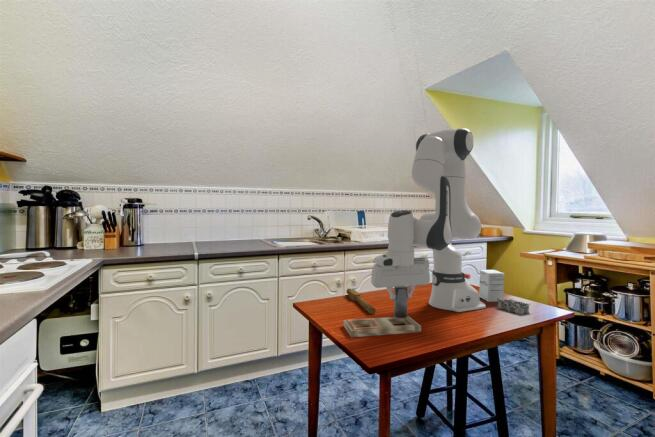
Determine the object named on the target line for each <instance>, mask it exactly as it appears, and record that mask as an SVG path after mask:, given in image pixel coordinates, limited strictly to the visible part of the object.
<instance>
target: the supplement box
mask: <svg viewBox="0 0 655 437" xmlns="http://www.w3.org/2000/svg"><path fill="white" fill-rule="evenodd" d="M504 288H505V272H501V271H499V270H496V269H480V270H479V290H478V293H479V298H481V299H482V300H484V301H485V302H488V303H489V302H491V303H492V302H493V303H498V302H499V301H498V300H497V299H500V300H504V292H505V290H504Z"/></svg>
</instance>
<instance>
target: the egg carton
mask: <svg viewBox="0 0 655 437" xmlns="http://www.w3.org/2000/svg"><path fill="white" fill-rule="evenodd" d="M497 300H498V301H499V302H497V307H498V308H499V309H500V310H506V311H507V312H514V313H515V314H516V315H524V313H525V314H528V313H529V311H530V306H531V303H525V302H523V301H518V300H515V299H513V298H507V299H503V300H500V299H497Z"/></svg>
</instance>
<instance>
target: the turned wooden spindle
mask: <svg viewBox="0 0 655 437" xmlns="http://www.w3.org/2000/svg"><path fill="white" fill-rule="evenodd" d="M346 294H347V296H348V298H349V299H351V300H352V301H353V302H356V303H358V304H359V305H360V306H361V307H362V308H363V309H364V310H365V311H366V312H367V313H368V314H369V315H375V314H376V312H377V310H376V308H375V307H374V306H373V305H372V304H370V303H369V302H368V301H366V300H364V299H363V298H362V297H361V293H359V292H358V291H357V290H356V289H353V288H350V287H349V288H347V289H346Z"/></svg>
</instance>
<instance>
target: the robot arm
mask: <svg viewBox="0 0 655 437" xmlns="http://www.w3.org/2000/svg"><path fill="white" fill-rule="evenodd" d="M473 148H474V136H473V134H472V131H470V130H469V129H468V128H457V129H456V128H455V129H454V128H453V129H452V128H451V129H443V130H440V131H435V132H431V133H425V134H422V135H420V136H419V137H418V139H417V140H416V144H415V150H416V152H415V156H414V159H413V163H412V168H411V178H412V180H413V182H414V183H415V184H416V185H417V186H418V187H419V188H421V189H423V190H425V191H427V192H430V193H433V195H434V197H435V210H434V211H429V212H425V213H423V214H422V215H421V216H420V218H419V219H418V218H416V217H414V215H413V211H411V210H406V209H405V210H403V209H402V210H397V211H394V212H393V211H392V212H391V214H390V215H389V218H388V225H387V240H388V246H387V252H385V253H383V254H380V255H378V256H375V257H374V258H373V263H375V264H374V265H373V266H372V269H371V276H370V278H371V279H370V280H371V285H372V286H373V287H374V288H376V289H378V288H379V289H380V288H386V290H387V292H388V293H389V299H390V300H393V301H394V299H396V294H394V292H393V290H394V287H397V286H406V287H409V289H407V299H412V297H413V296H412V295H413V292H414V291H415V289H416V286H425V285H429V284H430V282H431V281H432V282H431V283H432V286H431V293H430V296H429V297H430V298H429V300H428V305H430V306H431V307H433V308H435V309H436V308H437V309H440V310H445V311H453V312H456V313H460V312H461V313H463V312H467V311H474V310H480V309H482V310H483V309H486V308H487V306H486V303H484V302H483V301H481V300H480V297H479V290H477V289H476V288H474V287H473V285H471V284H470V283H469V282H467V281H466V279H467V280H470V279H471V276H472V275H471V274H469V273H467V272H466V273H464V272H463V270H462V269H463V268H462V267H463V265H462V264H463V263H462V262H463V255H462V253H461V251H460V250H459V249H458V248H456V247H454V245H453V244H452V240H462V241H463V240H472V239H476V238H477V237H478V236H479V234H480V233H481V231H482V223H481V219H480V218H479V217H478V215H476V213H474V212H473V210H471V208H470V207H469V204H468V202H467V199H466V174H467V173H466V171H467V170H466V161H465V160H466V159H467V157H468V156H469V155H470V154H471V152H472V150H473ZM414 247H416V248H426V249H429V250H432V254H433V255H432V256H433V269H432V271H431V272H432V273H431V274H432V275H431V276H430V269H429V268H430V260H428V258H426V257H424V256H423V257H415V248H414Z"/></svg>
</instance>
